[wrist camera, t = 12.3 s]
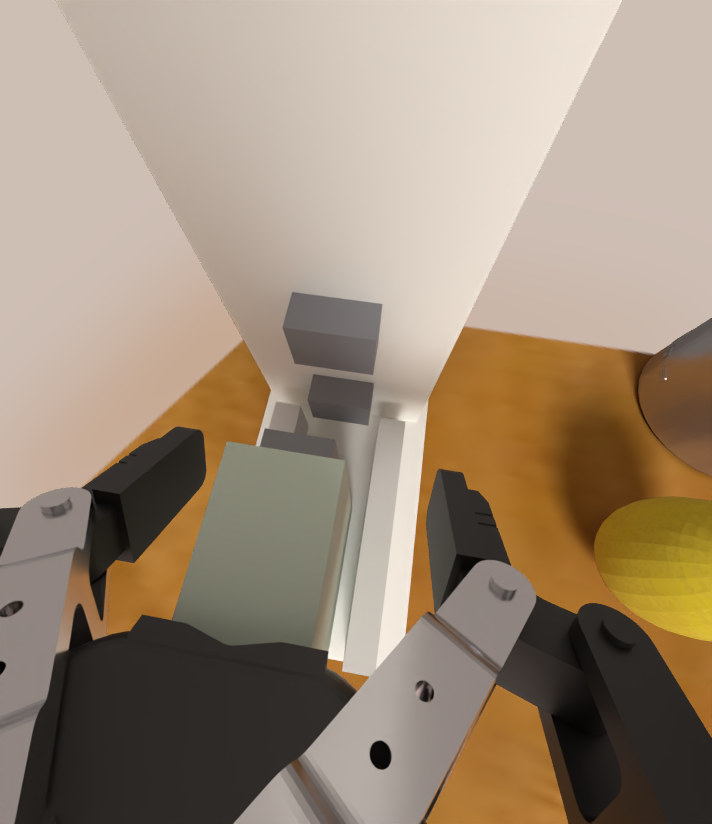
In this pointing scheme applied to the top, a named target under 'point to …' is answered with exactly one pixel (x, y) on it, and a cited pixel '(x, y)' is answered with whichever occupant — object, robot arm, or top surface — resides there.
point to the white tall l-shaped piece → (347, 208)
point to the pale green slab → (271, 544)
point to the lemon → (661, 562)
